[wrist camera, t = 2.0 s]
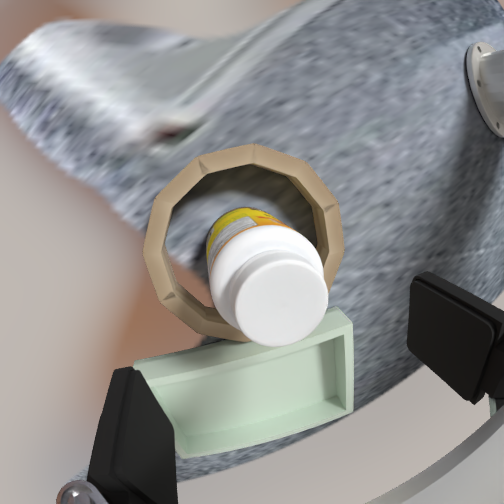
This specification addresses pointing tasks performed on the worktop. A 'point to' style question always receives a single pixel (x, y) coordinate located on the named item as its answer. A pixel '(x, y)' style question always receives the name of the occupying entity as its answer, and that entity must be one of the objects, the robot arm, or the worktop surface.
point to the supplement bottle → (265, 277)
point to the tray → (254, 388)
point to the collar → (254, 154)
